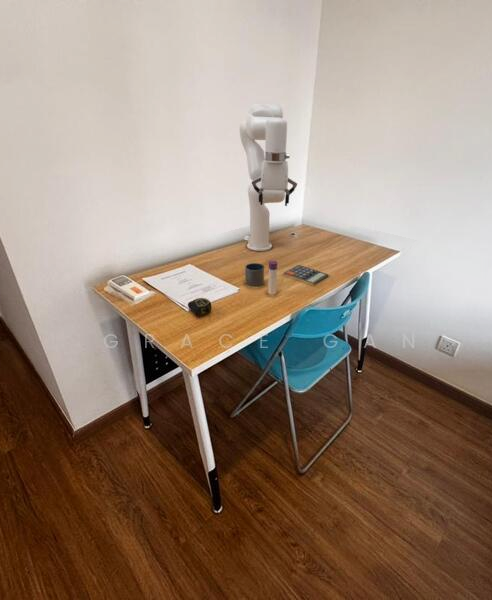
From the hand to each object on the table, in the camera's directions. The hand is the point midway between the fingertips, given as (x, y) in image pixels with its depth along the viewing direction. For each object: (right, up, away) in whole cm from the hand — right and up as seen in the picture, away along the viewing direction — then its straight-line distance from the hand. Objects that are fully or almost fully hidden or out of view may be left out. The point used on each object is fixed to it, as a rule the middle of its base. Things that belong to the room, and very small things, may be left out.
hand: (273, 204), depth 126 cm
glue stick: (-1, -35, -6) cm, 36 cm away
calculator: (+14, -27, +10) cm, 32 cm away
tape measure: (-25, -42, -18) cm, 52 cm away
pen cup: (-8, -31, +1) cm, 32 cm away
